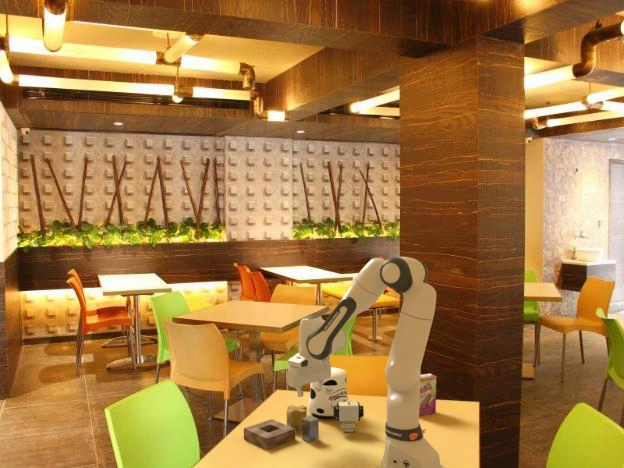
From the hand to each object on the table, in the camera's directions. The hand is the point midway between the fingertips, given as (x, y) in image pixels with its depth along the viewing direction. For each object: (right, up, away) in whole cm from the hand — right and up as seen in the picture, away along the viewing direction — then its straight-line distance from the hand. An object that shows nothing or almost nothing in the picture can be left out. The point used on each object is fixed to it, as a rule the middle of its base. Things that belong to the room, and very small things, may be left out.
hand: (309, 393), depth 229 cm
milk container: (+8, -16, +29) cm, 34 cm away
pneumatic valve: (+15, -17, +10) cm, 25 cm away
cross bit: (-5, -17, +12) cm, 22 cm away
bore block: (-15, -18, +1) cm, 23 cm away
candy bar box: (+48, -16, +29) cm, 58 cm away
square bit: (0, -18, +1) cm, 18 cm away
